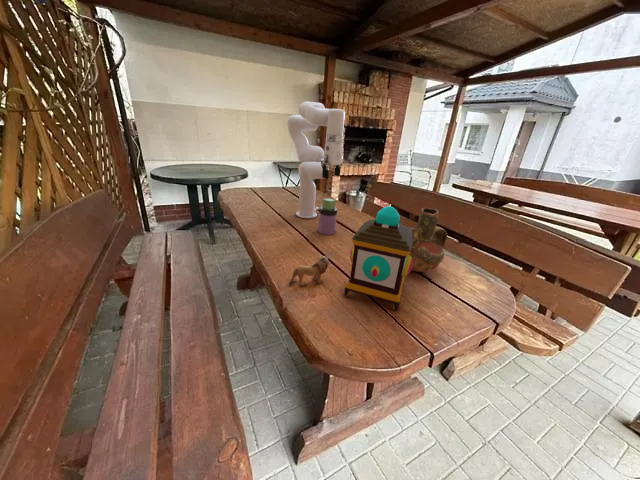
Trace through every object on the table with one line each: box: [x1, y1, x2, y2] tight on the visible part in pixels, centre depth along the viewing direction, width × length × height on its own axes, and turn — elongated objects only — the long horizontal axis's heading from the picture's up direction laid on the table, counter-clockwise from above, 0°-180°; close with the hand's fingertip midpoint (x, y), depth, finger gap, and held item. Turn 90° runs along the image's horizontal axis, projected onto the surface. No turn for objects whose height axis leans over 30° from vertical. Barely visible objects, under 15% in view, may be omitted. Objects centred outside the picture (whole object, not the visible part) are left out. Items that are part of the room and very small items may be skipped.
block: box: [322, 197, 337, 210], centre depth 131 cm, size 4×4×4 cm
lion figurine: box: [288, 255, 330, 287], centre depth 90 cm, size 15×5×9 cm, turn 117°
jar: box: [317, 213, 338, 236], centre depth 135 cm, size 9×9×12 cm
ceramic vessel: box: [409, 207, 448, 273], centre depth 101 cm, size 17×26×25 cm, turn 117°
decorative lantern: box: [343, 205, 414, 312], centre depth 84 cm, size 20×20×30 cm
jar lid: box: [318, 205, 338, 216], centre depth 133 cm, size 9×9×2 cm
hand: (331, 177), depth 126 cm, fingers open, 9 cm apart
